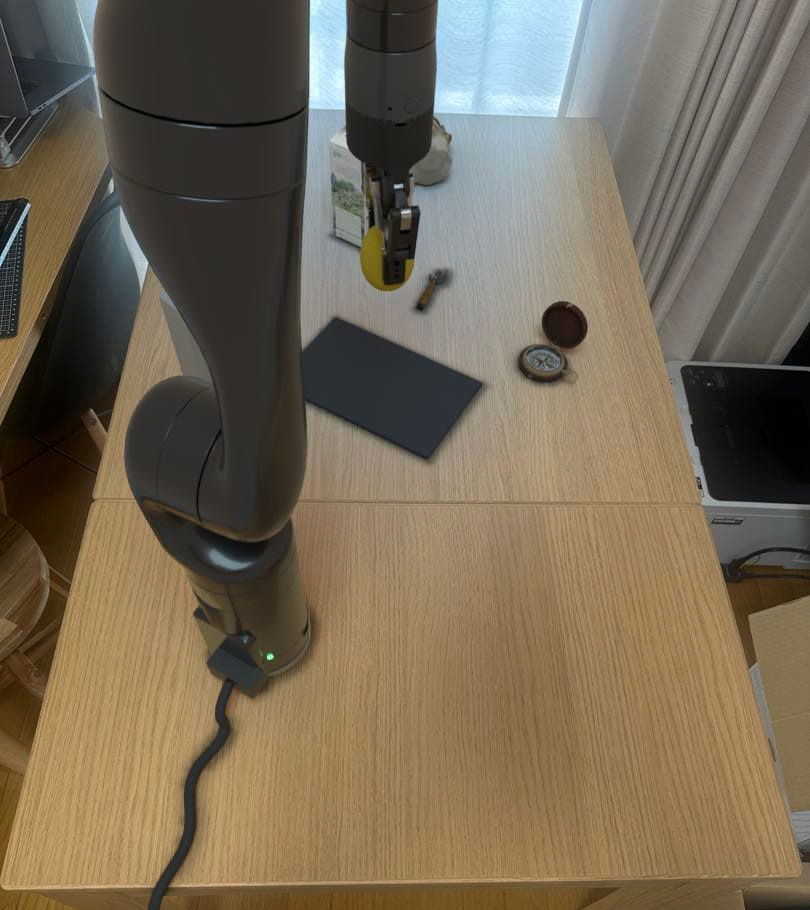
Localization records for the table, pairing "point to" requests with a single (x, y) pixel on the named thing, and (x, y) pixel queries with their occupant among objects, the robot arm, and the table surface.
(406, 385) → the mat
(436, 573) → the table surface
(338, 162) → the syrup box
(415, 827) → the table surface
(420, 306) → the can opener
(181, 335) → the vintage mobile phone
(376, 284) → the lemon
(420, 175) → the ceramic sculpture
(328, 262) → the table surface
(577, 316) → the compass
